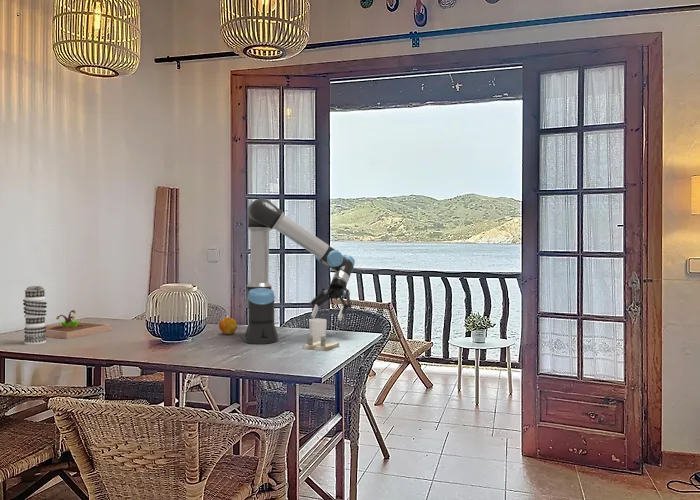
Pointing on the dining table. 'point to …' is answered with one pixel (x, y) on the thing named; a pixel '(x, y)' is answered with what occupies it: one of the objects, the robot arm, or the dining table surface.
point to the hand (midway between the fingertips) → (325, 318)
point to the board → (319, 344)
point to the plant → (69, 324)
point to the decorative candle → (35, 315)
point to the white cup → (317, 328)
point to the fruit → (228, 325)
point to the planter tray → (66, 335)
